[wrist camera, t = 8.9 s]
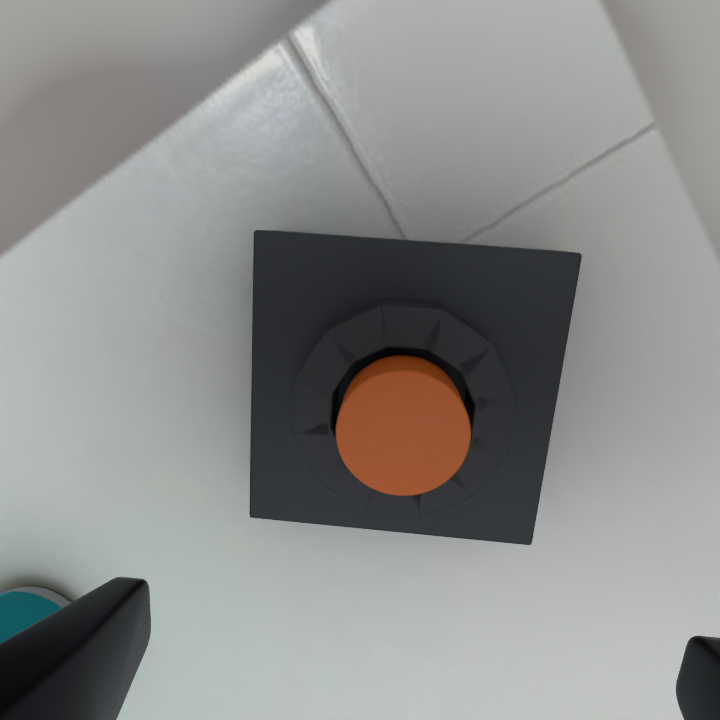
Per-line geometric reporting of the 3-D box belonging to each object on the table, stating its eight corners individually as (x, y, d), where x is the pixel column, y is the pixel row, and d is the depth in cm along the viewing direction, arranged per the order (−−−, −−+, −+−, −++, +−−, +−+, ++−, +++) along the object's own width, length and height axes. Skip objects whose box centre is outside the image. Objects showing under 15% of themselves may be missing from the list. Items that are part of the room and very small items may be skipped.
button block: (559, 250, 17) (608, 255, 13) (516, 512, 20) (547, 581, 16) (270, 230, 17) (234, 229, 14) (264, 488, 20) (233, 549, 16)
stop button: (469, 360, 14) (479, 376, 13) (454, 472, 15) (462, 502, 14) (345, 349, 15) (339, 364, 13) (338, 462, 16) (331, 489, 14)
